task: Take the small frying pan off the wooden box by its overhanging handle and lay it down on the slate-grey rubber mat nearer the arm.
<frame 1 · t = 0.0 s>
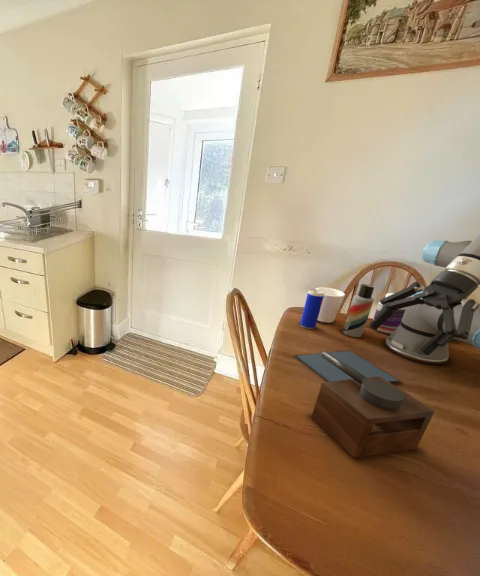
hand: (396, 339, 85), 15 cm above the table, tool tilted 35°, fingers open, 13 cm apart
pill bottle: (383, 330, 121), on the table
wooden box: (360, 432, 75), on the table
lotion bottle: (351, 334, 119), on the table
cup: (321, 320, 129), on the table
mat: (343, 368, 98), on the table
small frying pan: (379, 398, 70), point 11 cm above the table, touching wooden box
beverage can: (307, 326, 125), on the table
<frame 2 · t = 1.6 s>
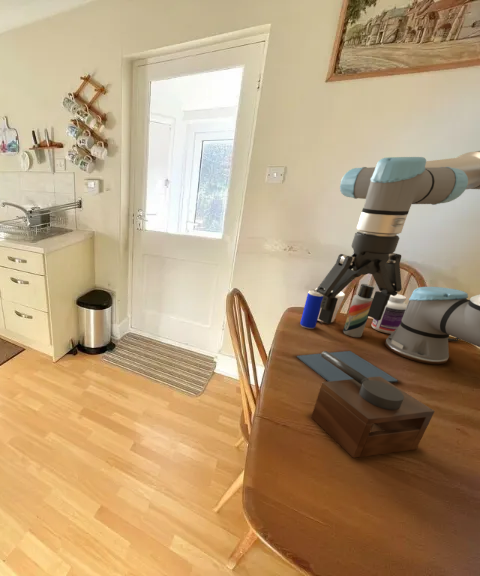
hand: (349, 319, 76), 25 cm above the table, tool pointing down, fingers open, 13 cm apart
nothing on the table moved.
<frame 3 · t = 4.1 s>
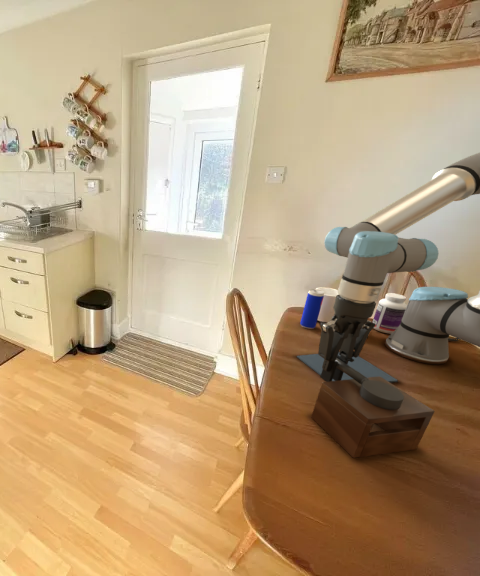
hand: (330, 379, 82), 7 cm above the table, tool pointing down, fingers closed on small frying pan, 2 cm apart
small frying pan: (379, 398, 70), point 11 cm above the table, touching gripper, wooden box
everything else where it was.
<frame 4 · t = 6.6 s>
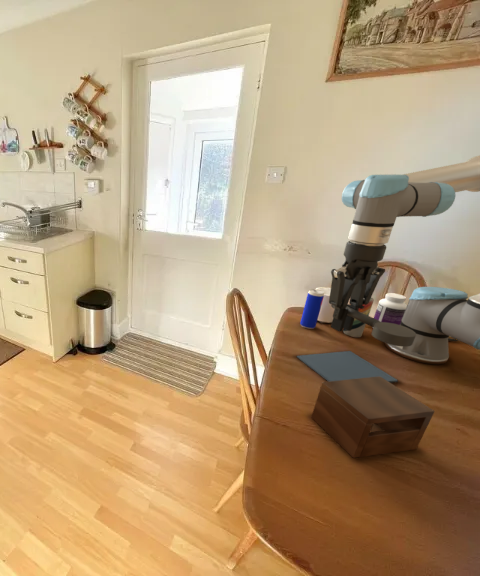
hand: (340, 328, 84), 19 cm above the table, tool pointing down, fingers closed on small frying pan, 2 cm apart
small frying pan: (391, 338, 71), point 23 cm above the table, touching gripper
everything else where it was.
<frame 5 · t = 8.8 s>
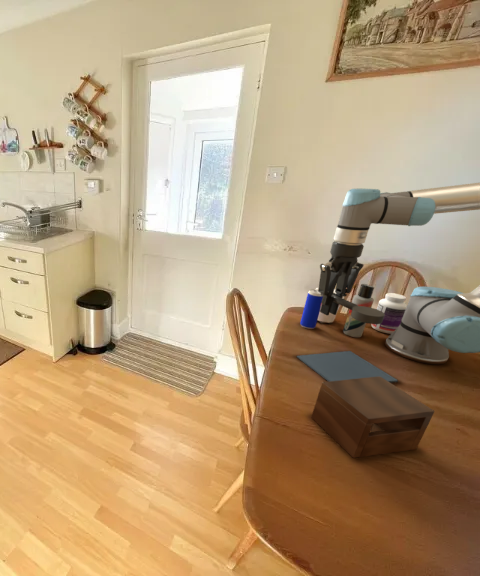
hand: (327, 313, 102), 15 cm above the table, tool pointing down, fingers closed on small frying pan, 2 cm apart
small frying pan: (366, 318, 90), point 19 cm above the table, touching gripper
everything else where it was.
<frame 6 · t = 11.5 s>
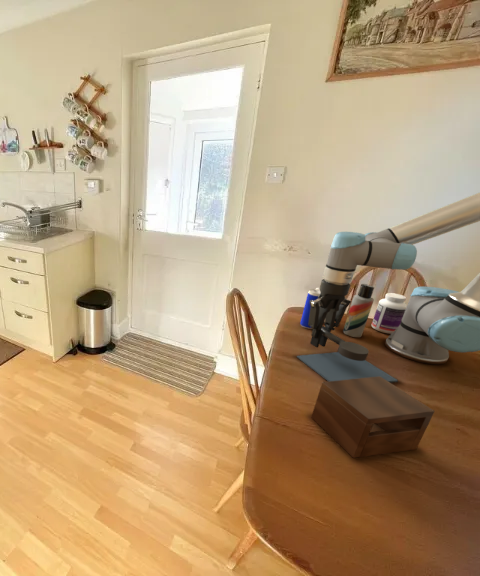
hand: (317, 344, 108), 2 cm above the table, tool pointing down, fingers closed on small frying pan, 2 cm apart
small frying pan: (351, 354, 95), point 6 cm above the table, touching gripper
everything else where it was.
when the fingers open (0 cm above the table, at t = 13.8 s): small frying pan drops 3 cm, resting on mat.
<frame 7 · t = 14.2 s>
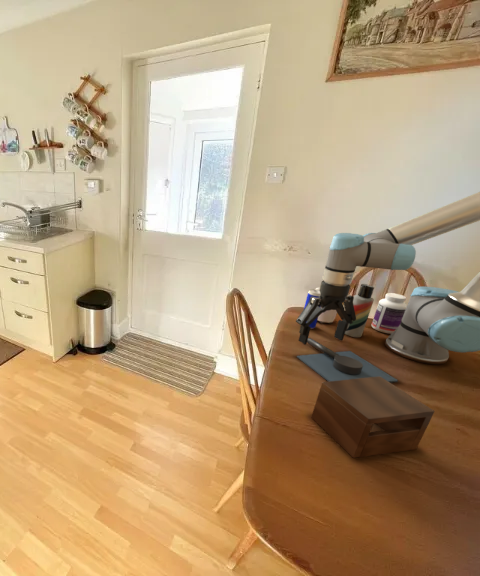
hand: (320, 340, 107), 4 cm above the table, tool pointing down, fingers open, 13 cm apart
small frying pan: (346, 368, 97), point 1 cm above the table, touching mat
everything else where it was.
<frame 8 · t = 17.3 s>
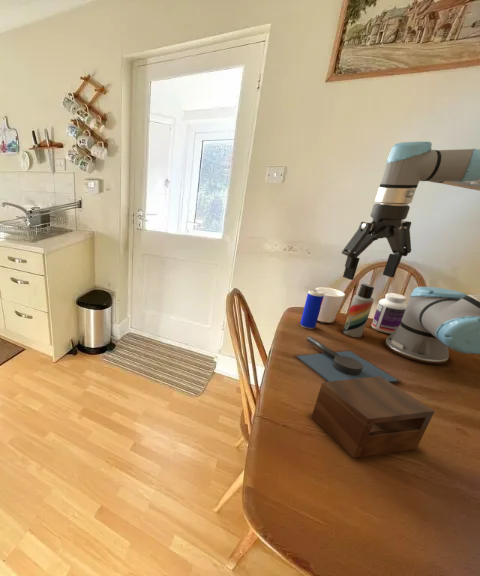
hand: (368, 277, 93), 29 cm above the table, tool pointing down, fingers open, 13 cm apart
nothing on the table moved.
at the end: small frying pan inside the target area on the mat (0.3 cm from its centre), point 0.6 cm above the mat's base; the gripper is holding nothing; small frying pan touching mat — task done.
